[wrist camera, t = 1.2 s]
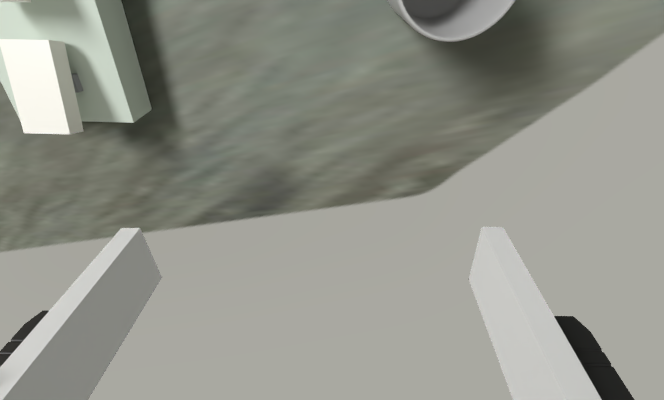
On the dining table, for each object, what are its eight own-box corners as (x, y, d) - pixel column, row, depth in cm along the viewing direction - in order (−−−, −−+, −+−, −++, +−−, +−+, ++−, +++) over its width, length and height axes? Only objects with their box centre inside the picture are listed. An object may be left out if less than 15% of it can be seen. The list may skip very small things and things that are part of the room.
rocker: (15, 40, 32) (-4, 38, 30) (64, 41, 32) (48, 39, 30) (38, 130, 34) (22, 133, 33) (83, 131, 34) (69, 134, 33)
